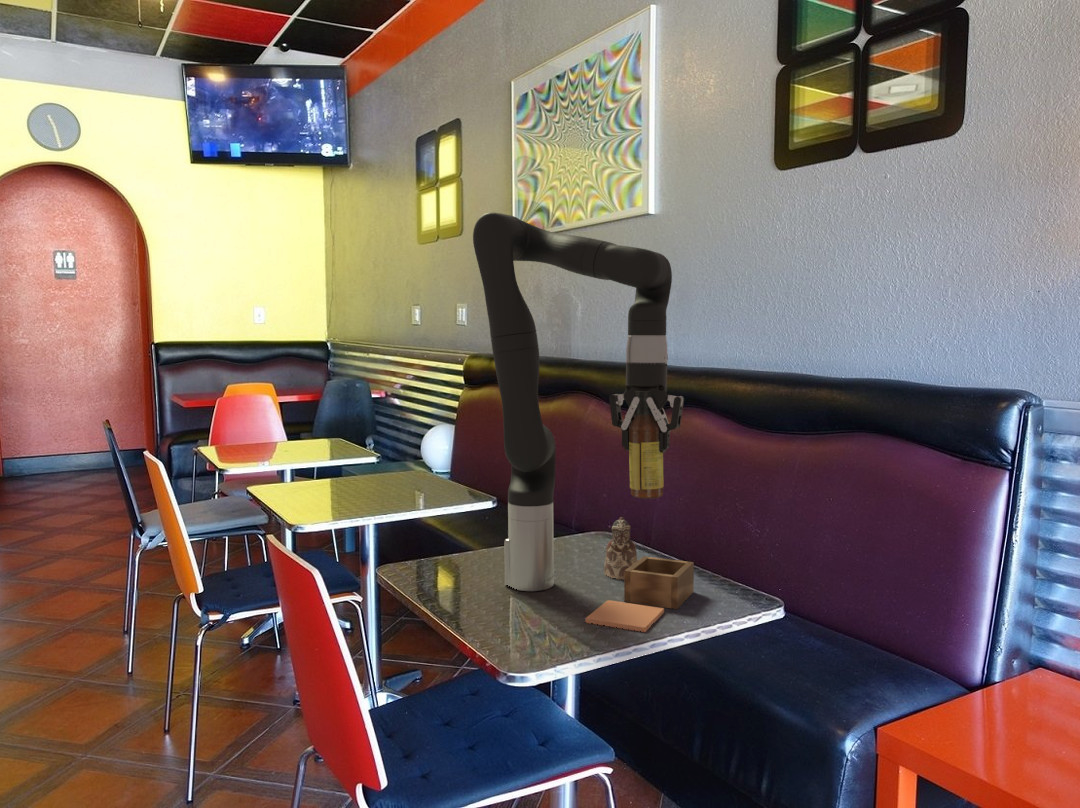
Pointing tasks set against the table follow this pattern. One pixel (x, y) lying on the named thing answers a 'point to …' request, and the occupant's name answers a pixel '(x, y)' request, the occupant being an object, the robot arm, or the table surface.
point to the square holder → (659, 582)
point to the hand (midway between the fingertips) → (645, 450)
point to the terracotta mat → (625, 615)
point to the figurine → (619, 550)
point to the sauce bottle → (645, 452)
